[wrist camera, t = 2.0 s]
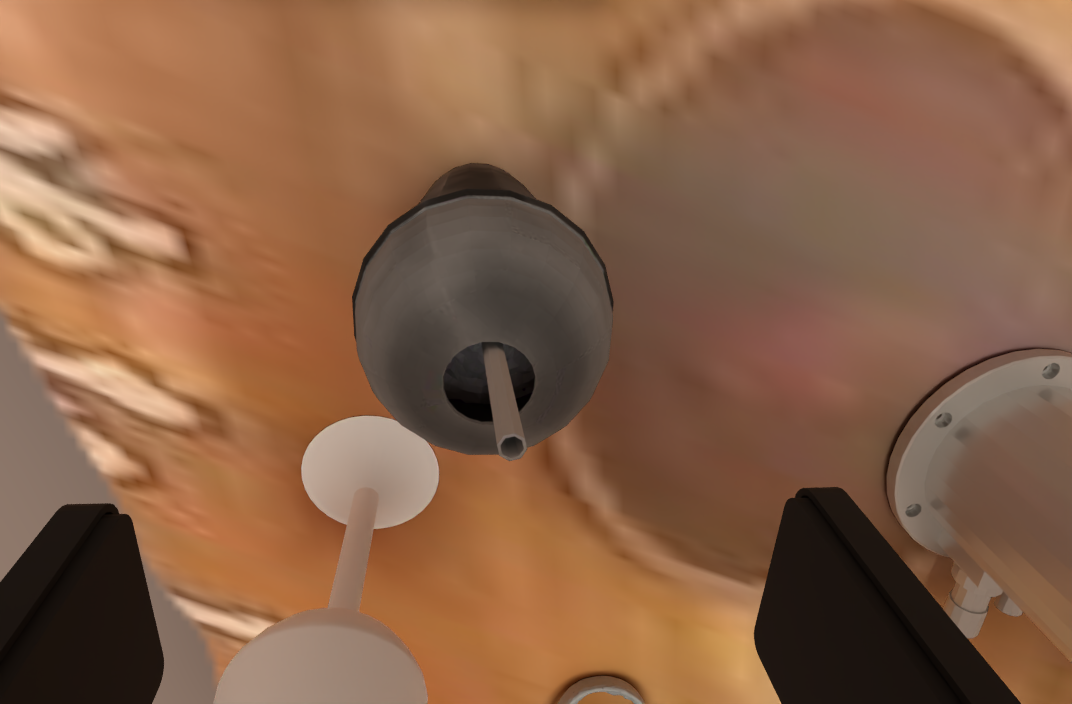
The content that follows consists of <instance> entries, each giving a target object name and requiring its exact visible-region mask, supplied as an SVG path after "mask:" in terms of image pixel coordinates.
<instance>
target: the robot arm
mask: <svg viewBox="0 0 1072 704" xmlns="http://www.w3.org/2000/svg"><path fill="white" fill-rule="evenodd" d="M887 496H888V500H889V503H890V507H891V510H892V512H893V514H894V515H895V517H896V519H897V520H898V522H899V524H900V525H901V526H902V527H903V528H904V529H905V530H906V532H907V533H908V534H909V535H910V536H911V537H912V538H913V540H915V541H916V542H918V543H919V544H920V545H922V546H923V547H924V548H926V549H927V550H930V551H932V552H934V553H937V554H939V555H941V556H945V557H950V558H951V559H952V560H953V561H954V563H953V566H952V569H951V575H952V577H953V578H954V580H955V581H956V583H955V586H954V588H953V589H952V590H951V591H950V592H949V594H948V597H947V599H946V602H945V605H944V607H943V609H942V607H941V606H940V605H939V604H938V603H937V601H936V600H935V599H934V598H933V597H932V595H931V594H930V593H929V592H928V591H927V589H926V588H925V587H924V586H923V585H922V583H921V582H920V581H919V580H918V579H917V577H916V576H915V575H914V574H913V572H912V571H911V570H910V569H909V568H908V566H907V565H906V564H905V563H904V562H903V560H902V559H901V558H900V557H899V556H898V554H897V553H896V552H895V551H894V550H893V548H892V547H891V546H890V545H889V544H888V542H887V541H886V540H885V539H884V538H883V536H882V535H881V534H880V533H879V531H878V530H877V529H876V528H875V527H874V525H873V524H872V523H871V522H870V521H869V519H868V518H867V517H866V516H865V515H864V513H863V512H862V511H861V510H860V509H859V507H858V506H857V505H856V504H855V503H854V501H853V500H852V499H851V498H850V496H849V495H848V494H847V493H846V492H845V491H844V490H843V489H841V488H838V487H827V488H802V489H800V490H799V491H798V492H797V494H796V496H795V498H790V499H788V500H787V502H786V504H785V507H784V511H783V515H782V519H781V523H780V527H779V531H778V535H777V539H776V543H775V547H774V551H773V555H772V559H771V563H770V568H769V572H768V576H767V580H766V584H765V588H764V592H763V596H762V600H761V604H760V608H759V612H758V616H757V620H756V625H755V630H754V640H755V646H756V650H757V653H758V655H759V658H760V660H761V662H762V664H763V666H764V668H765V670H766V672H767V674H768V676H769V678H770V680H771V683H772V685H773V687H774V689H775V691H776V693H777V695H778V697H779V699H780V701H781V703H782V704H1021V703H1020V702H1019V700H1018V699H1017V698H1016V697H1015V696H1014V694H1013V693H1012V692H1011V691H1010V689H1009V688H1008V687H1007V686H1006V685H1005V683H1004V682H1003V681H1002V680H1001V679H1000V677H999V676H998V675H997V674H996V673H995V671H994V670H993V669H992V668H991V667H990V665H989V664H988V663H987V662H986V661H985V659H984V658H983V657H982V656H981V655H980V653H979V652H978V651H977V650H976V648H975V647H974V646H973V645H972V644H971V642H970V641H969V640H968V639H967V638H974V637H976V636H978V634H979V631H980V629H981V627H982V624H983V622H984V619H985V617H986V615H987V612H988V608H989V606H988V603H989V601H990V599H991V597H996V598H995V601H994V604H995V606H996V608H998V609H999V610H1000V611H1001V612H1003V613H1005V614H1008V615H1010V616H1016V617H1017V616H1020V615H1022V613H1024V614H1025V615H1026V616H1027V617H1028V618H1029V619H1030V620H1031V621H1032V622H1033V623H1034V624H1035V625H1036V626H1037V627H1038V629H1039V630H1040V631H1041V632H1042V633H1043V634H1044V635H1045V636H1046V637H1047V638H1048V639H1049V640H1050V641H1051V642H1052V643H1053V644H1054V645H1055V646H1056V648H1057V649H1058V650H1059V651H1060V652H1061V653H1062V654H1063V655H1064V656H1065V657H1066V658H1067V659H1068V660H1069V661H1070V662H1071V663H1072V353H1068V352H1065V351H1061V350H1050V349H1032V350H1024V351H1016V352H1011V353H1008V354H1005V355H1001V356H998V357H994V358H991V359H989V360H987V361H984V362H982V363H980V364H978V365H976V366H974V367H971V368H969V369H967V370H966V371H964V372H963V373H961V374H959V375H958V376H956V377H955V378H953V379H952V380H950V381H949V382H947V383H946V384H944V385H943V386H942V387H941V388H940V389H939V390H937V391H936V392H935V393H934V394H933V395H932V396H931V397H929V398H928V399H927V400H926V401H925V402H924V403H923V405H922V406H921V407H920V408H919V409H918V410H917V412H916V413H915V414H914V415H913V416H912V417H911V418H910V420H909V422H908V423H907V425H906V426H905V428H904V430H903V431H902V433H901V434H900V436H899V438H898V440H897V442H896V445H895V447H894V450H893V452H892V455H891V457H890V462H889V467H888V472H887ZM163 669H164V657H163V652H162V647H161V643H160V639H159V634H158V630H157V626H156V621H155V617H154V613H153V609H152V605H151V600H150V596H149V591H148V587H147V583H146V578H145V574H144V570H143V565H142V561H141V557H140V552H139V548H138V544H137V539H136V535H135V531H134V526H133V522H132V520H131V518H130V516H129V515H127V514H119V512H118V509H117V508H116V507H115V505H113V504H67V505H64V506H62V507H61V508H60V509H59V510H58V511H57V512H56V513H55V514H54V515H53V517H52V518H51V519H50V521H49V522H48V523H47V524H46V525H45V527H44V528H43V529H42V531H41V532H40V533H39V534H38V536H37V537H36V538H35V539H34V541H33V542H32V543H31V544H30V546H29V547H28V548H27V549H26V551H25V552H24V553H23V554H22V556H21V557H20V558H19V560H18V561H17V562H16V563H15V564H14V566H13V567H12V568H11V570H10V571H9V572H8V573H7V575H6V576H5V577H4V578H3V580H2V581H1V582H0V704H152V702H153V700H154V698H155V695H156V693H157V691H158V688H159V686H160V683H161V680H162V675H163Z"/></svg>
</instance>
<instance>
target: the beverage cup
mask: <svg viewBox="0 0 1072 704" xmlns="http://www.w3.org/2000/svg"><path fill="white" fill-rule="evenodd" d="M352 302H353V320H354V336H355V339H356V342H357V352H358V356H359V360H360V362H361V364H362V367H363V369H364V372H365V374H366V376H367V379H368V381H369V383H370V386H371V388H372V391H373V393H374V394H375V395H376V397H377V398H378V399H379V401H380V402H381V403H382V404H383V405H384V406H385V407H386V409H387V410H388V411H389V412H390V413H391V414H392V415H393V417H394V418H395V419H396V420H397V421H398V422H399V423H400V425H402V426H403V427H405V428H407V429H408V430H410V431H411V432H413V433H415V434H416V435H418V436H420V437H421V438H423V439H425V440H426V441H428V442H429V443H431V444H433V445H435V446H438V447H442V448H446V449H449V450H453V451H457V452H460V453H464V454H468V455H499V456H501V457H503V458H505V459H506V460H508V461H512V460H516V459H520V458H521V457H522V456H523V454H524V453H525V452H526V450H527V447H531V446H534V445H536V444H537V443H539V442H541V441H542V440H544V439H546V438H547V437H549V436H551V435H552V434H554V433H556V432H557V431H559V430H561V429H562V428H564V427H565V426H567V425H568V423H569V422H570V421H571V420H572V419H573V418H574V417H575V416H576V415H577V414H578V413H579V411H580V410H581V409H582V408H583V407H584V406H585V405H586V404H587V403H588V402H589V401H590V399H591V397H592V395H593V393H594V391H595V389H596V387H597V384H598V382H599V380H600V378H601V376H602V374H603V371H604V369H605V367H606V365H607V363H608V361H609V352H610V342H611V333H612V323H613V314H612V312H613V297H612V293H611V289H610V284H609V280H608V276H607V272H606V267H605V264H604V262H603V261H602V259H601V258H600V256H599V255H598V253H597V251H596V250H595V248H594V247H593V245H592V244H591V242H590V240H589V239H588V237H587V236H586V234H585V232H584V231H583V230H582V229H580V228H579V227H578V226H577V225H575V224H574V223H573V222H572V221H570V220H569V219H568V218H567V217H565V216H564V215H563V214H562V213H560V212H559V211H558V210H557V209H555V208H554V207H553V206H552V205H550V204H547V203H544V202H541V201H539V200H536V198H535V197H534V196H533V195H532V194H531V193H530V192H529V191H528V190H527V189H526V188H525V186H524V185H523V184H521V183H520V182H519V181H518V180H516V179H515V178H514V177H513V176H511V175H510V174H509V173H507V172H505V171H504V170H502V169H500V168H497V167H494V166H491V165H489V164H474V163H470V164H466V165H463V166H459V167H456V168H453V169H452V170H450V171H449V172H447V173H446V174H445V175H443V176H442V177H440V178H439V179H438V180H437V181H436V182H435V183H434V184H433V185H432V187H431V188H430V189H429V191H428V192H427V193H426V195H425V196H424V197H423V199H422V200H421V202H420V203H419V204H418V205H417V206H415V207H414V208H413V209H411V210H410V211H408V212H407V213H405V214H404V215H402V216H401V217H399V218H398V219H397V220H395V221H394V222H392V223H391V224H389V225H388V226H387V228H386V229H385V230H384V232H383V233H382V234H381V236H380V237H379V238H378V240H377V241H376V243H375V244H374V245H373V247H372V248H371V249H370V251H369V252H368V253H367V255H366V256H365V257H364V259H363V262H362V266H361V269H360V272H359V276H358V279H357V282H356V286H355V289H354V292H353V296H352Z"/></svg>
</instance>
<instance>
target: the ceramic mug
mask: <svg viewBox="0 0 1072 704" xmlns="http://www.w3.org/2000/svg"><path fill="white" fill-rule="evenodd" d="M593 692H607V693H609V694H612V695H621V696H623V697H624V698H625V699H629V700H631V701H632V702H633V703H634V704H645V703H644V701H643V699H642V697H641V696H640V694H639V693H638V692H637V690H636V689H635V688H633V686H632V685H630V684H629V683H627V682H625V681H623V680H621V679H619V678H615V677H611V676H595V677H590V678H585V679H582V680H580V681H578V682H577V683H575V684H573V685H572V686H571V687H569V689H568V690H567V691H566V692H565V693H564V694H563V696H562V697H561V698H560V700H559V702H558V704H577V703H578V701H580V700H581V699H582V698H584V697H585V696H586V695H588V694H591V693H593Z"/></svg>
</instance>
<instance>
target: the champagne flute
mask: <svg viewBox="0 0 1072 704" xmlns="http://www.w3.org/2000/svg"><path fill="white" fill-rule="evenodd" d="M301 471H302V481H303V484H304V487H305V490H306V492H307V494H308V495H309V497H310V499H311V500H312V501H313V503H314V504H315V505H316V506H317V507H318V508H319V509H320V510H321V511H322V512H324V513H325V514H326V515H327V516H329V517H331V518H333V519H334V520H336V521H338V522H340V523H343V524H346V525H347V527H346V531H345V536H344V540H343V544H342V549H341V553H340V557H339V561H338V566H337V570H336V574H335V579H334V583H333V587H332V592H331V596H330V600H329V604H328V608H320V609H313V610H307V611H304V612H301V613H297V614H294V615H292V616H290V617H288V618H286V619H284V620H282V621H280V622H278V623H276V624H274V625H272V626H270V627H268V628H267V629H265V630H264V631H263V632H261V633H260V634H259V635H258V636H256V637H255V638H254V639H252V640H251V641H250V642H249V643H247V644H246V645H245V646H244V647H242V648H241V649H240V651H239V652H238V653H237V654H236V655H235V657H234V658H233V659H232V660H231V662H230V663H229V665H228V666H227V668H226V669H225V671H224V673H223V675H222V677H221V679H220V681H219V683H218V687H217V691H216V695H215V699H214V703H213V704H427V699H428V695H427V690H426V685H425V681H424V677H423V673H422V671H421V669H420V667H419V665H418V663H417V661H416V660H415V658H414V656H413V655H412V653H411V651H410V650H409V648H408V647H407V646H406V645H405V644H404V643H403V641H402V640H401V639H400V638H399V637H398V636H397V635H396V634H395V633H394V632H393V631H392V630H391V629H390V628H389V627H387V626H386V625H385V624H383V623H382V622H380V621H379V620H377V619H375V618H373V617H371V616H369V615H367V614H363V613H360V612H359V608H360V602H361V597H362V591H363V585H364V580H365V574H366V569H367V563H368V557H369V552H370V546H371V541H372V535H373V529H380V528H387V527H392V526H395V525H399V524H402V523H404V522H406V521H408V520H410V519H412V518H414V517H415V516H416V515H418V514H419V513H420V512H422V511H423V510H424V509H425V507H426V506H427V505H428V504H429V503H430V502H431V500H432V498H433V496H434V494H435V493H436V489H437V486H438V482H439V467H438V462H437V459H436V456H435V454H434V452H433V450H432V448H431V447H430V445H429V444H428V443H427V441H426V440H425V439H423V438H421V437H420V436H418V435H416V434H415V433H413V432H411V431H410V430H408V429H407V428H405V427H403V426H402V425H400V423H399V422H398V421H396V420H393V419H389V418H384V417H380V416H358V417H350V418H347V419H344V420H341V421H338V422H336V423H334V424H332V425H330V426H328V427H326V428H325V429H324V430H322V431H321V432H320V433H319V434H318V435H316V436H315V438H314V439H313V440H312V441H311V443H310V444H309V445H308V447H307V449H306V452H305V454H304V456H303V461H302V466H301Z"/></svg>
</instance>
